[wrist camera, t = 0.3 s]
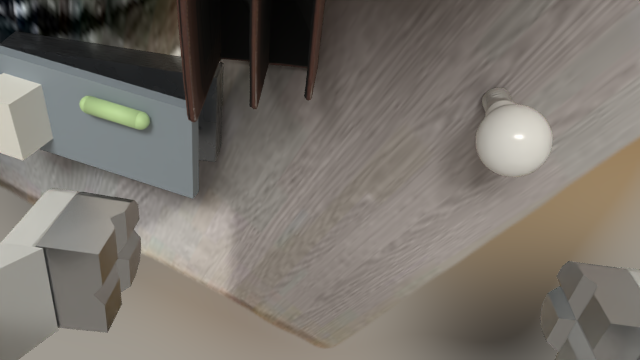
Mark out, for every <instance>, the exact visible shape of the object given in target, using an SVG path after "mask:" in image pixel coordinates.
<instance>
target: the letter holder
mask: <svg viewBox="0 0 640 360" xmlns="http://www.w3.org/2000/svg"><path fill="white" fill-rule="evenodd" d="M324 5H325V0H177V11H178V23H179V35H180V47H181V58H182V73H183V82H184V91H185V100H186V108H187V117H188V120H189V121H191V122H196V121H197V120H198V118H199V115H200V112H201V110H202V107H203V104H204V102H205V99H206V96H207V93H208V91H209V88H210V85H211V83H212V80H213V77H214V75H215V71H216V69H217V67H218V64H219V62H220V60H221V59H230V60H241V61H250V107H252V108H253V109H257V107H258V103H259V100H260V96H261V92H262V88H263V84H264V79H265V76H266V72H267V69H268V65H269V64H271V65H284V66H293V67H301V68H308V70H307V78H306V87H305V95H304V96H305V98H306V99H307V100H311V98H312V94H313V88H314V83H315V78H316V73H317V69H318V58H319V49H320V40H321V32H322V22H323V14H324Z"/></svg>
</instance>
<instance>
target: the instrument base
mask: <svg viewBox="0 0 640 360" xmlns="http://www.w3.org/2000/svg"><path fill="white" fill-rule="evenodd" d="M0 46H4V47H7V48H10V49H14V50H17V51H21V52H24V53H27V54H31V55H34V56H37V57H41V58H44V59H48V60H51V61H54V62H58V63H61V64H64V65H68V66H71V67H75V68H78V69H81V70H85V71H88V72H91V73H95V74H98V75H102V76H105V77H108V78H112V79H115V80H118V81H122V82H125V83H129V84H132V85H135V86H139V87H142V88H146V89H149V90H152V91H156V92H159V93H162V94H166V95H169V96H173V97H176V98H179V99H183V100H185V91H184V82H183V73H182V58H181V57H178V56H172V55H166V54H159V53H153V52H146V51H140V50H133V49H127V48H120V47H114V46H107V45H101V44H95V43H88V42H82V41H75V40H69V39H62V38H56V37H49V36H43V35H36V34H30V33H24V32H17V31H16V32H14V33H13V34H12V35H11V36H9V37H8V38H7V39H6V40H4V41H3V42H2V43H1V44H0ZM222 94H223V63H219V64H218V67H217V69H216V71H215V75H214V77H213V80H212V83H211V85H210V88H209V91H208V93H207V96H206V99H205V102H204V104H203V107H202V110H201V112H200V115H199V118H198V129H199V160H204V161H211V162H216V159H217V156H218V153H219V150H220V147H221V129H222Z"/></svg>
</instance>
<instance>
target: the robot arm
mask: <svg viewBox="0 0 640 360" xmlns="http://www.w3.org/2000/svg"><path fill="white" fill-rule="evenodd" d="M138 221H139V208H138V204H137V202H136V201H135V200H130V199H124V198H117V197H111V196H105V195H99V194H93V193H86V192H78V191H72V190H65V189H59V188H52V189H49V190H47V191H46V192H45V193H44V194H43V195H42V196H41V198H40V199H39V200H38V201H37V202H36V203H35V204H34V205H33V207H32V208H31V209H30V210H29V211H28V212H27V213H26V215H25V216H24V217H23V218H22V219H21V220H20V222H18V224H17V225H16V226H15V227H14V228H13V229H12V230H11V232H10V233H9V234H8V235H7V236H6V238H4V239H3V241H2V242H0V360H18V359H20V358H21V357H22V356H24V355H25V354H26V353H28V352H29V351H31V350H32V349H33V348H35V347H36V346H37V345H39V344H40V343H42V342H43V341H44V340H46V339H47V338H48V337H50V336H51V335H52V334H54V333H55V332H56V331H58V328H67V329H77V330H87V331H98V332H108V331H109V329H110V327H111V325H112V323H113V321H114V319H115V317H116V315H117V313H118V311H119V309H120V307H121V305H122V301H121V292H122V291H124V290H125V289H127V288H129V287H130V286H131V284H132V282H133V280H134V278H135V276H136V273H137V269H138V265H139V262H140V254H141V238H140V236H139V235H138V234H137V233H136V232H135V230H134V228H135V226H136V224H137V223H138ZM557 279H558V282H559V284H560V286H559V287H557V288H556V289H554V290H552V291H551V292H549V293H548V294H547V296H546V298H545V300H544V302H543V305H542V308H541V317H540V321H541V328H542V332H543V335H544V337H545V340H546V342H547V343H549V345H551V346H552V347H553V348H554V349H555V350H556V351H557V352H558V353H557V356H556V358H555V360H640V269H631V268H622V267H621V268H615V267H608V266H600V265H593V264H585V263H578V262H570V261H568V262H567V263H566V264H565V265H563V266H562V268H561V269H560V271H559V273H558V275H557Z"/></svg>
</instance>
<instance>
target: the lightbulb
mask: <svg viewBox="0 0 640 360" xmlns="http://www.w3.org/2000/svg"><path fill="white" fill-rule="evenodd" d="M482 105H483V107H484V110H485V113H486V114H485V118H484V119H483V120H482V122H481V123H480V125H479V127H478V130H477V133H476V139H475V145H476V150H477V154H478V156H479V158H480V160H481V161H482V163H483V164H484V165H485V166H486V167H487V168H488V169H489V170H491V171H492V172H494V173H496V174H498V175H501V176H505V177H521V176H525V175H528V174H530V173H532V172H534V171H536V170H537V169H538V168H540V167H541V166H542V165H543V164H544V163H545V161H546V160H547V158H548V157H549V155H550V152H551V149H552V144H553V136H552V131H551V128H550V125H549V123H548V122H547V120H546V119H545V118H544V116H543V115H542V114H540V113H539V112H538V111H536V110H535V109H533V108H531V107H528V106H525V105H519V104H516V103H514V102H513V101H512V99H511V96H510V94H509V92H508V91H507V90H506V89H503V88H493V89H491V90H489V91H487V92H486V93H485V94H484V96H483V98H482Z"/></svg>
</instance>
